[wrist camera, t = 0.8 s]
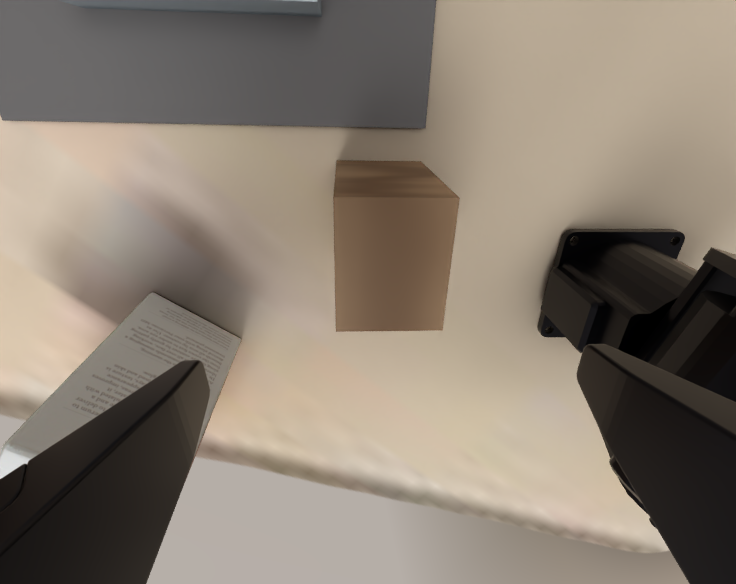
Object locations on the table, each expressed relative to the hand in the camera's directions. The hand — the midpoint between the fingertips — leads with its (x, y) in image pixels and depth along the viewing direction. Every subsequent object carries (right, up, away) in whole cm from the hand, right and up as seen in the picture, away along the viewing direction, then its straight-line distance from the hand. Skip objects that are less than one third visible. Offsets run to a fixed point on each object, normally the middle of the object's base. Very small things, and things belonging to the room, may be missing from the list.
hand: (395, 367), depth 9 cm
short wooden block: (0, +6, +10) cm, 12 cm away
